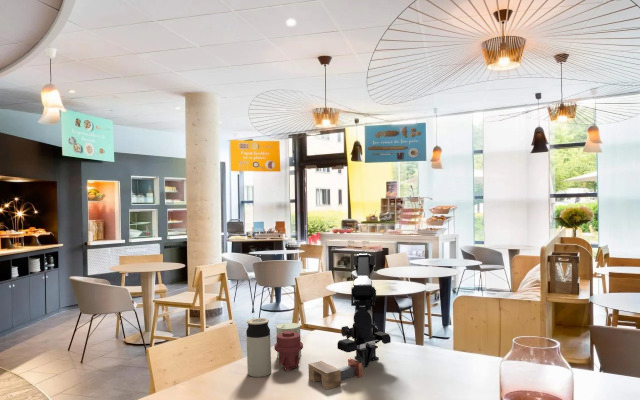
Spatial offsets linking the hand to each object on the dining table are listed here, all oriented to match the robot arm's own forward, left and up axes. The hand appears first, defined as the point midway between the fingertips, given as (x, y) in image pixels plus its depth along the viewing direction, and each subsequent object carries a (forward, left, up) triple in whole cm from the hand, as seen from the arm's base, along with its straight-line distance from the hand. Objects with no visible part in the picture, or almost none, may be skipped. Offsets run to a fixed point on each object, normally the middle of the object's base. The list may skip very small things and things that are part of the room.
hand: (365, 367), depth 166 cm
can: (+12, -31, -2) cm, 33 cm away
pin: (+8, 0, -2) cm, 9 cm away
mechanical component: (+18, -20, -2) cm, 27 cm away
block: (+16, 0, -2) cm, 16 cm away
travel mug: (+29, -21, -2) cm, 36 cm away
